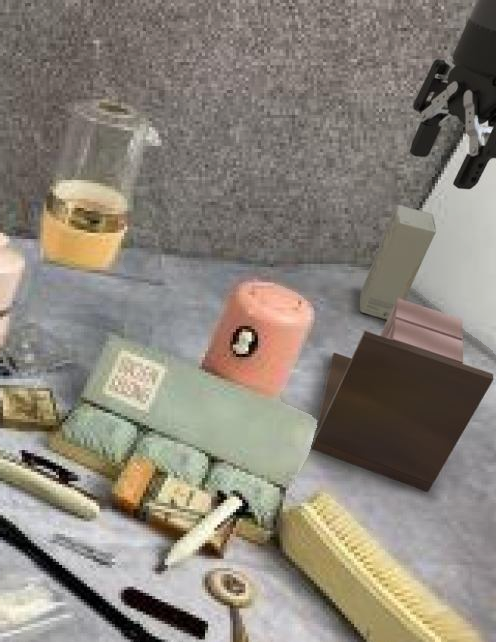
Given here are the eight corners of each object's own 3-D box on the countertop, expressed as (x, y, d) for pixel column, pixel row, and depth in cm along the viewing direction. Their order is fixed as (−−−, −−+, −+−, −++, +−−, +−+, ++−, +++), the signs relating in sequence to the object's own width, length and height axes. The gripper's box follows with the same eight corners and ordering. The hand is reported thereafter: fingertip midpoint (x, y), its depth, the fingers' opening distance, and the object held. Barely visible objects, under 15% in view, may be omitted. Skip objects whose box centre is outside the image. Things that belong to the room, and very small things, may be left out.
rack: (330, 359, 103) (376, 256, 96) (431, 394, 101) (487, 291, 93) (311, 448, 89) (363, 335, 82) (428, 492, 86) (493, 379, 79)
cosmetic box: (394, 323, 113) (438, 233, 106) (357, 312, 113) (398, 222, 106) (393, 300, 118) (435, 213, 111) (358, 290, 118) (397, 202, 112)
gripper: (585, 50, 91) (506, 201, 101) (494, 8, 102) (431, 147, 112) (523, 42, 89) (448, 197, 99) (437, 0, 100) (377, 142, 110)
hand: (439, 170), depth 105 cm, fingers open, 8 cm apart
